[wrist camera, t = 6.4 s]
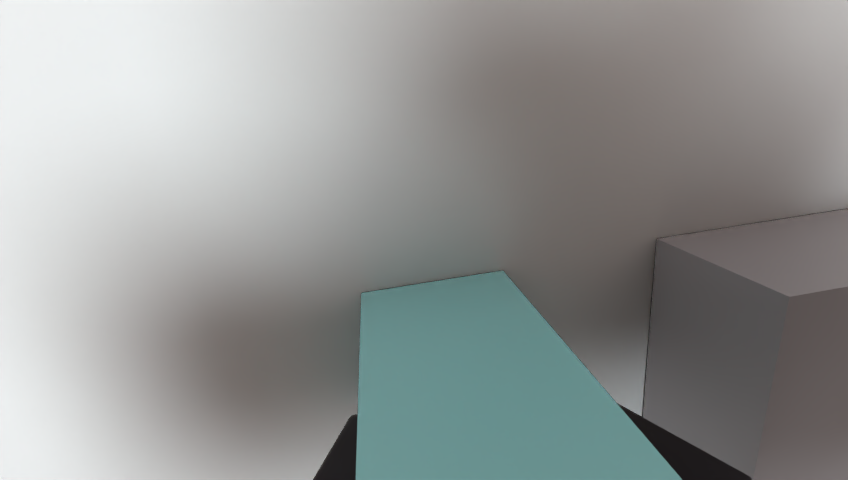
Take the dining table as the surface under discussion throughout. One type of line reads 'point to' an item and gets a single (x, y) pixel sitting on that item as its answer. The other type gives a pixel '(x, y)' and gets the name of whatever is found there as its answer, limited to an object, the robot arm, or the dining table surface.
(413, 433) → the teal rectangular block
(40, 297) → the dining table surface
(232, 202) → the dining table surface
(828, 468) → the socket block
